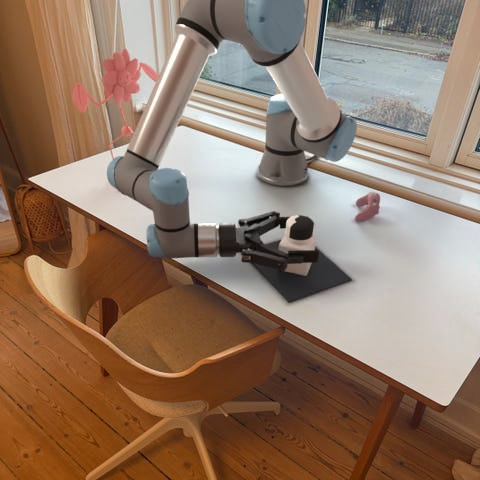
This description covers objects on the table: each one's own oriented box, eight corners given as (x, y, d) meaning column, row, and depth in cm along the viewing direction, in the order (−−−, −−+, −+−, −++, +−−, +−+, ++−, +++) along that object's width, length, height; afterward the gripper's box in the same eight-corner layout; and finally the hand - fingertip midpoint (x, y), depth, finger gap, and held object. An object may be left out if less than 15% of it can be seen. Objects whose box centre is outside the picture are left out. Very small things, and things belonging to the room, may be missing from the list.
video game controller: (367, 229, 125) (384, 209, 120) (353, 220, 124) (369, 200, 119) (367, 210, 132) (383, 191, 127) (354, 202, 131) (370, 183, 126)
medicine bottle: (313, 259, 111) (320, 215, 103) (306, 276, 106) (313, 231, 98) (284, 253, 113) (288, 209, 105) (276, 270, 108) (280, 225, 100)
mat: (300, 235, 120) (300, 233, 119) (351, 280, 106) (352, 279, 106) (242, 252, 114) (242, 250, 113) (288, 303, 100) (288, 301, 100)
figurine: (87, 191, 134) (56, 55, 110) (156, 162, 148) (142, 37, 124) (119, 210, 127) (94, 69, 103) (189, 178, 141) (181, 48, 117)
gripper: (217, 224, 115) (302, 223, 116) (219, 289, 97) (320, 286, 98) (216, 197, 110) (305, 196, 111) (219, 259, 92) (325, 257, 93)
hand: (312, 238), depth 105 cm, fingers open, 13 cm apart
